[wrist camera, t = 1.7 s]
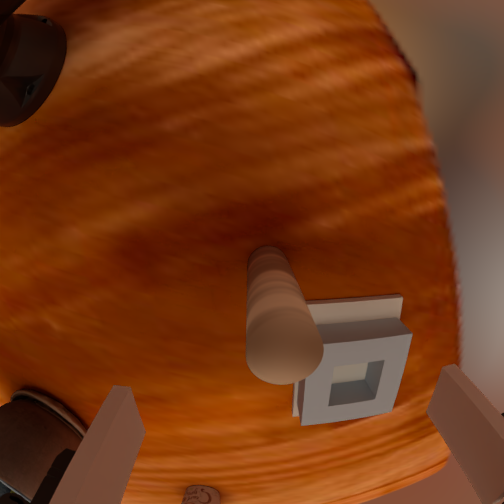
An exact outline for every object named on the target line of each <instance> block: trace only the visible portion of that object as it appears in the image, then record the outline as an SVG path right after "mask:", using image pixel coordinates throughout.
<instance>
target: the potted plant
mask: <svg viewBox="0 0 504 504" xmlns="http://www.w3.org/2000/svg"><path fill="white" fill-rule="evenodd" d="M86 433H87V430H86V429H85V428H84V426H83V425H82V424H81V422H80V421H79V420H78V419H77V418H76V417H75V416H74V415H73V414H72V413H70V412H69V411H68V410H67V409H66V408H65V407H64V406H63V405H62V404H60V403H58V402H57V401H55V400H53V399H52V398H50V397H48V396H45V395H43V394H41V393H39V392H36V391H33V390H28V389H22V390H17V391H16V392H14V393H13V395H12V396H11V402H9V403H6V404H4V405H3V406H1V407H0V497H1V496H2V495H3V494H6V493H16V494H19V495H21V496H22V497H23V498H24V499H25V500H26V501H27V502H28V503H29V504H30V502H31V501H32V499H33V497H34V495H35V494H36V492H37V490H38V488H39V486H40V484H41V483H42V481H43V479H44V477H45V476H47V472H48V470H49V468H51V465H52V463H53V461H54V460H55V458H56V456H57V455H58V454H60V453H61V452H62V451H63V450H65V449H66V448H67V449H71V450H74V451H77V449H78V447H79V445H80V444H81V442H82V440H83V438H84V436H85V434H86Z"/></svg>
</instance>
